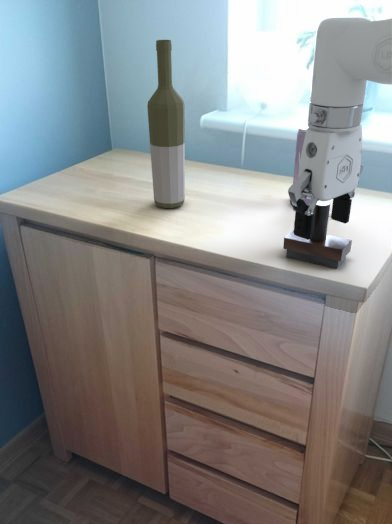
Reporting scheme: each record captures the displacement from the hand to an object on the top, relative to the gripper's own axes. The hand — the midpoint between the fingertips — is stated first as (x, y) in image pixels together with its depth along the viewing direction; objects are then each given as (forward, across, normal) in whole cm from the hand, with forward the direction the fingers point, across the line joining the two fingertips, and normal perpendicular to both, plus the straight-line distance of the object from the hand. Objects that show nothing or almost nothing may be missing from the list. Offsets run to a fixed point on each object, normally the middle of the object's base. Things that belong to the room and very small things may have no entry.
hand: (321, 228), depth 90 cm
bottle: (+5, -1, +38) cm, 38 cm away
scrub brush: (+5, 0, 0) cm, 5 cm away
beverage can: (+6, +20, +19) cm, 28 cm away
